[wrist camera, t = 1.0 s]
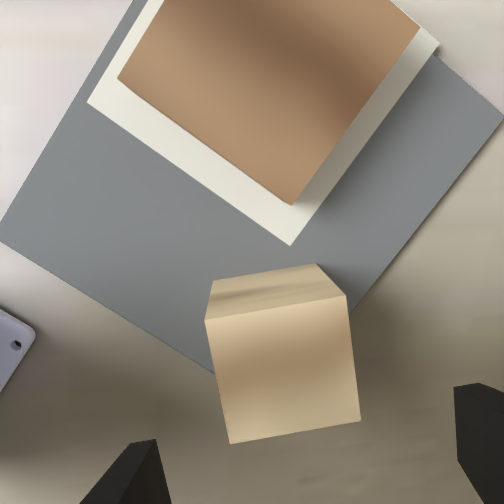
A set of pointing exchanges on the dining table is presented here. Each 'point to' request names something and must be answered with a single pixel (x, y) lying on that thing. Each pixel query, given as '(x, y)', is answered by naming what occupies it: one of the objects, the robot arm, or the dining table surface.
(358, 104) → the walnut base
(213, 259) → the mat
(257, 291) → the maple cube
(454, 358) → the dining table surface
